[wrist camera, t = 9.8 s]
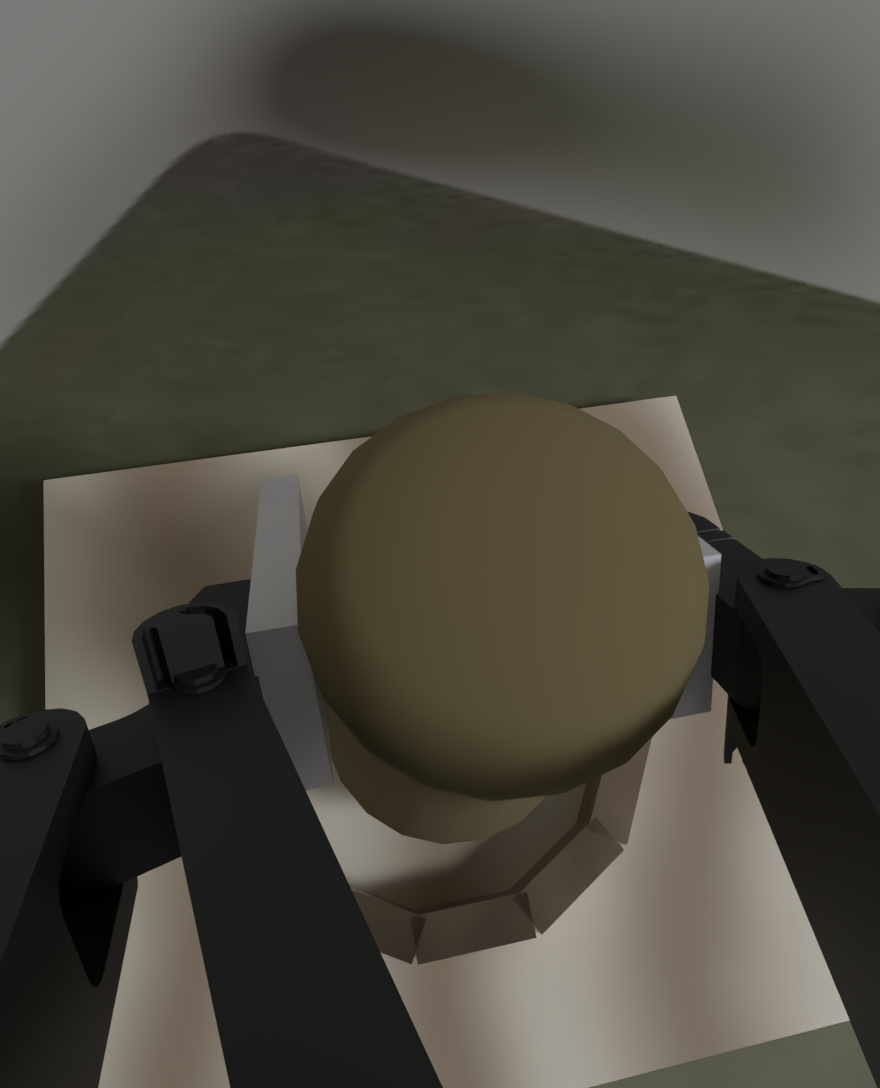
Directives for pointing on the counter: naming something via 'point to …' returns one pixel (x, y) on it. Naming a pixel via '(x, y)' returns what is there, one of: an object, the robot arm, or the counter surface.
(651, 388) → the counter surface
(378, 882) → the board
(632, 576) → the cork
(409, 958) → the collar
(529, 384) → the counter surface
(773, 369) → the counter surface
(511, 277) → the counter surface
